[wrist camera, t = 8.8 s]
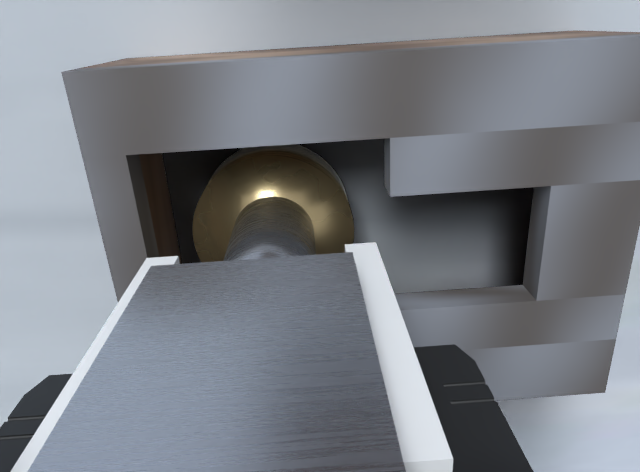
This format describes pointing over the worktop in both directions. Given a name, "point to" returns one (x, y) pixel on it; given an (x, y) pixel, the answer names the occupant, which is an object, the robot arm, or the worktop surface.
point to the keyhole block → (412, 169)
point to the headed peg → (241, 342)
